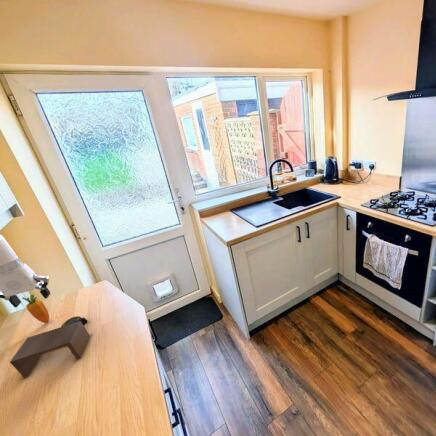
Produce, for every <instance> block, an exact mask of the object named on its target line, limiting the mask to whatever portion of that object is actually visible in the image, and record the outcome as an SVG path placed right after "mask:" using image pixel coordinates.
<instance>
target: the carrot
mask: <svg viewBox="0 0 436 436" xmlns="http://www.w3.org/2000/svg"><path fill="white" fill-rule="evenodd" d="M21 299H22V300H24V301H26V302H28V303H27V304H26V305H25V308H26V309H27V311H28V312H29V313H30V314H31V315H32V317H33V318H35V320H37V321H38V322H41V323H44V324H48V323H49V322H50V314H49V311H48V309H47V307H46V305H45V303H44V302H43V300H41V299H38V296H35V294H34V293H30V296H29V297H25V296H22V298H21Z"/></svg>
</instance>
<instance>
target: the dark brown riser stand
mask: <svg viewBox="0 0 436 436" xmlns="http://www.w3.org/2000/svg"><path fill="white" fill-rule="evenodd" d="M90 338H91V335H90V333H89V332H88V330H87V328H86V326H85V325H83V324H82V322H81V321H79V322H76V323H72V324H69V325H66V326H63V327H61V326H60V327H57V328H53V329H50V330H47V331H43V332H41V333H37V334H34V335H31V336H27V338H26V339H25V340H24V341H23V342H22V345H20V347H19V349H17V351H16V353H15V354H14V355H13V357H12V358H11V359H10V361H9V363H10V365H12V366H13V367H14V369H15V370H16V371H17V372H18V373H19V375H21V376H22V377H23V378H24V379H25V378H27V377H29V376H30V374H31V373H32V371H33V369H34V368H35V366H36V364H38V361H39V359H40V358H41V356H42V355H45V354H47V353H48V354H49V353H51V352H53V351H57V350H60V349H62V348H67V347H68V350H70V352H71V353H72V355H73V356H74V357H75V359H76V360H79V359H82V356H83V354H84V351H85V349H86V347H87V345H88V342H89V341H90Z"/></svg>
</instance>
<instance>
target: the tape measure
mask: <svg viewBox="0 0 436 436" xmlns="http://www.w3.org/2000/svg"><path fill="white" fill-rule="evenodd" d="M79 321H81V322H82V324H83V325H84V326H85V325H86V324H87V323H88V319H87V318H85V317H81V316H72V317H70V318H68V319H67V320H65V321H64V322H63V323H62V324H61V326H60V327H63V326H66V325H69V324H72V323H76V322H79Z"/></svg>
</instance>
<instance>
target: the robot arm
mask: <svg viewBox="0 0 436 436" xmlns="http://www.w3.org/2000/svg"><path fill="white" fill-rule="evenodd" d="M41 281H42V282H41ZM49 283H50V276H48V275H37V273H35V271H34V270H33V269H32V268H31V267H30V266H29V265H28V264H26V263H23V262H22V260H21V259H20V258H19V256H18V255H17V253H16V252H15V251H14V250H13V248H12V247H11V245H10V244H9V243H8V241H7V240H6V238H5V237H4V236H3V235H2V234H0V299H3V300H5V301H9V303H10V304H11V305H12V307H13V308H18V307H19V305H21V303H22V301H21V299H20V298H19V297H18V295H20V294H23V293H27V292H30V291H33V290H39V293H40V295H41V296H42V297H43V298H44V299H48V298H49V297H50V295H51V291H50V290H49V288H48V287H47V286H48V284H49Z"/></svg>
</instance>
